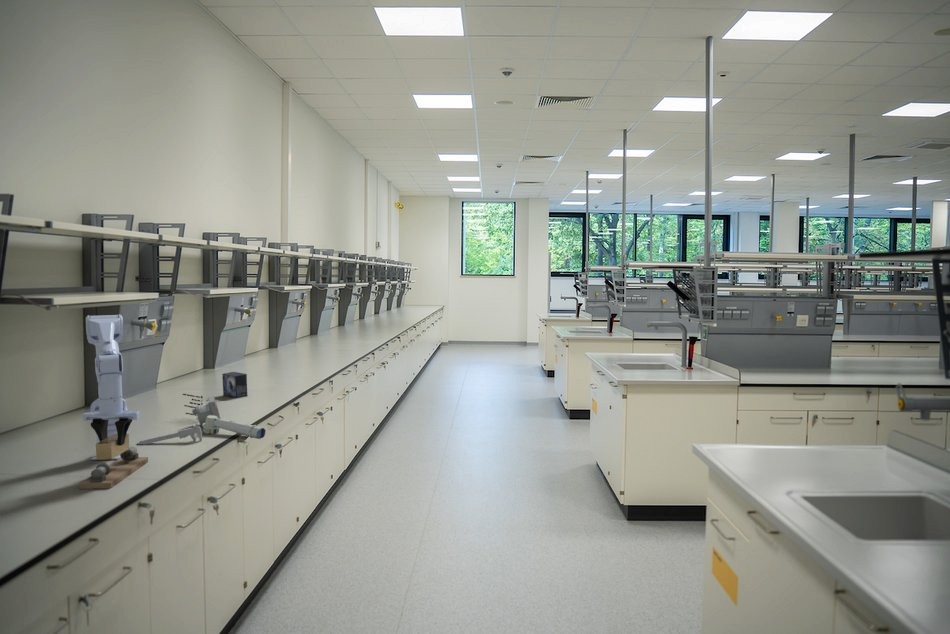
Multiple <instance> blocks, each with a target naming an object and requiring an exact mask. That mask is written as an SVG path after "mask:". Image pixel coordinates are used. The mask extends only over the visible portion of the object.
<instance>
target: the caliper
mask: <svg viewBox="0 0 950 634" xmlns="http://www.w3.org/2000/svg"><path fill="white" fill-rule="evenodd" d="M196 434H197V437H198V439H199V442H201V441H202V440H203V430H202V427H201V425H200V426H199V425H198V423H196V424H192V427H189V428H185V429H181V430H178V431H177V432H173V433H169V434H164V435H159V436H154V437H150V438H145V439H141V440H139V442H136V444H138V445H140V444H143V445H149V444H153V443H157V442H162V441H166V440H170V439H171V440H172V439H176V438H179V439H183V438H184V439H186V438H187V437H189V436H190V438H191V439H192V441H193V442H194V441H196V440H197V437H196ZM196 442H197V441H196Z"/></svg>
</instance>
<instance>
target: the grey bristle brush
mask: <svg viewBox="0 0 950 634" xmlns="http://www.w3.org/2000/svg"><path fill="white" fill-rule="evenodd" d="M182 396H187V397H193V398H191V401H189V404H191V405H195V406H190V405H187V404H184V405H183V406H184V407H187V408H192V410H191V412H192V413H190V412H185V415H190V416H196V420H198V422H199V425H200V428H203V427H202V425H203V423H205V421H206V418H207V416H209V415H213V416H217V417H218V418H219V419H222V418H221V416H220V413H219V412H220V411H219V408H218V405H217V401H216V398H215V396H210V397H208V399H207V400H205V403H203V398H204V397H203V395H201V396H199V395H192V394H187V393H182ZM195 398H196V399H195ZM197 398H199V399H197ZM200 399H201V400H200ZM192 401H195V402H192ZM197 402H201V403H197ZM206 402H207V403H206Z"/></svg>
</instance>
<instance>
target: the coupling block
mask: <svg viewBox="0 0 950 634" xmlns="http://www.w3.org/2000/svg"><path fill="white" fill-rule="evenodd" d="M129 448H130V437H129V434H126V437H125V443H124V444H123V445H121V446H119V445H118V434H113V435H111V436H109V437H108V438H106V439H104V440H102V441H100V442H98V443H97V442H96V443H95V456H96V459H97V461H102V460H103V461H105V460H106V461H107V460H114V459H113V458H115V457H117V456H118V455H120V454H122V453H123V452H125V451H126V450H128V449H129Z"/></svg>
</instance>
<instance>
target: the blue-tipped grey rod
mask: <svg viewBox="0 0 950 634" xmlns="http://www.w3.org/2000/svg"><path fill="white" fill-rule="evenodd" d="M201 428H202V433H204V434H206V435H209V434H212V435H215V434H219V433H220V429H221V430H225V431H229V432H232V433H236V434H239V435H243V436H247V437H249V438H251V439H253V438H254V439H259V440H261V439H263V438H264V437H265V435H266V429H265V428H264V427H261V426H258V425H257V424H254V425H252V424H248V423H243V422H238V421H233V420H228V419H224V418H221V419H219V418H218V417H217V416H213V415H209V416H207V418H206V421H205V423H203V425H202V427H201Z"/></svg>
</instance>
